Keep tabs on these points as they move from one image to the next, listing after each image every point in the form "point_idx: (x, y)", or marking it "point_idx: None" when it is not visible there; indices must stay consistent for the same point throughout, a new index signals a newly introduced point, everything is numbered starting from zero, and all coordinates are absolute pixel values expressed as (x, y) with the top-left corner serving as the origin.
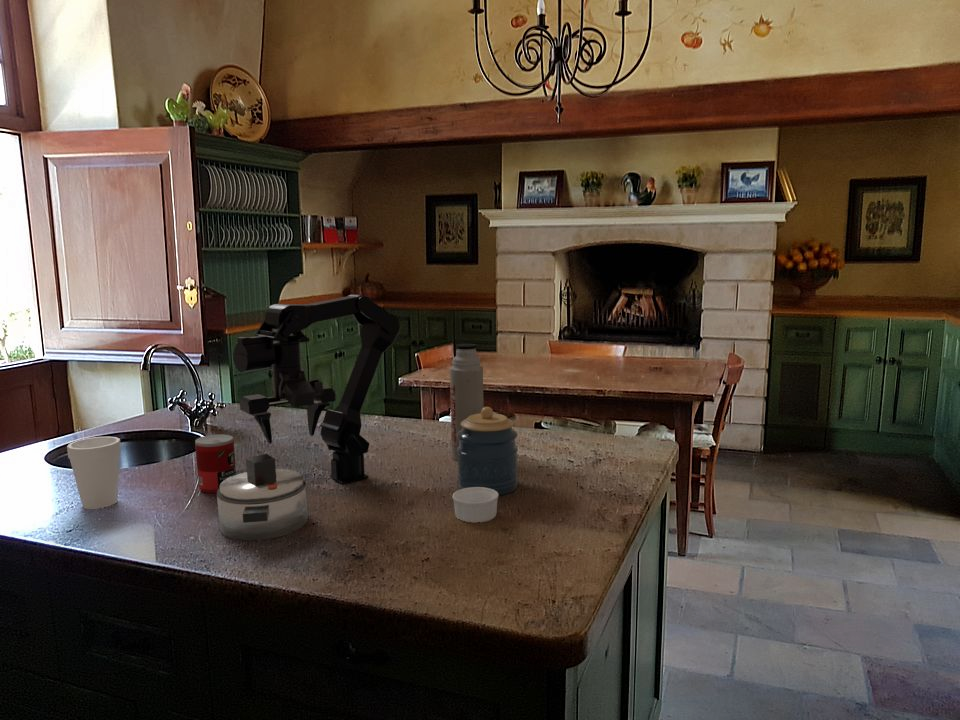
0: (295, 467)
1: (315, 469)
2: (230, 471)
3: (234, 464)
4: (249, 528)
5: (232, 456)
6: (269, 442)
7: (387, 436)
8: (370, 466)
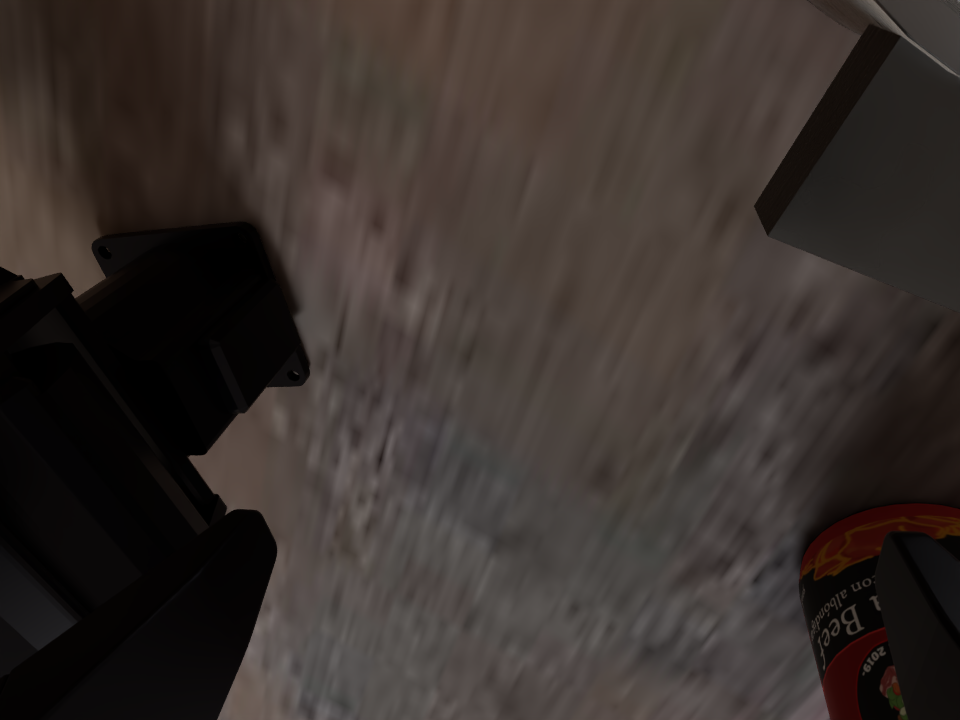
0: (444, 580)
1: (362, 511)
2: None
3: (863, 651)
4: None
5: None
6: (940, 549)
7: None
8: None
